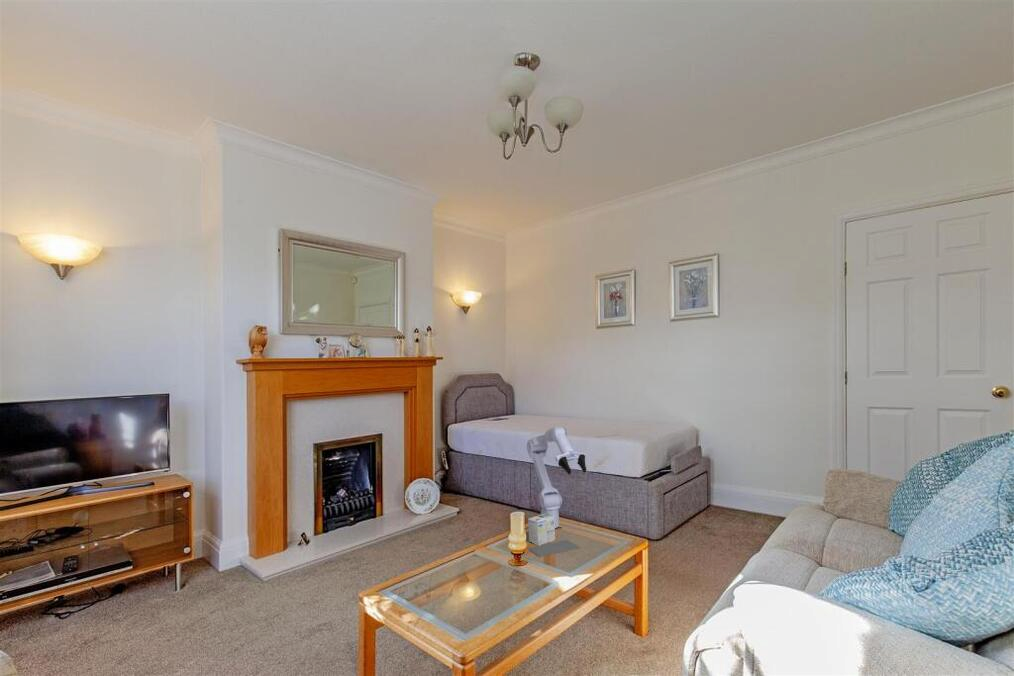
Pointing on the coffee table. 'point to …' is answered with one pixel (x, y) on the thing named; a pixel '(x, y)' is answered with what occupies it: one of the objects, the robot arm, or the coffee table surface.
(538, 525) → the light bulb box
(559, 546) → the mat
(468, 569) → the coffee table surface
